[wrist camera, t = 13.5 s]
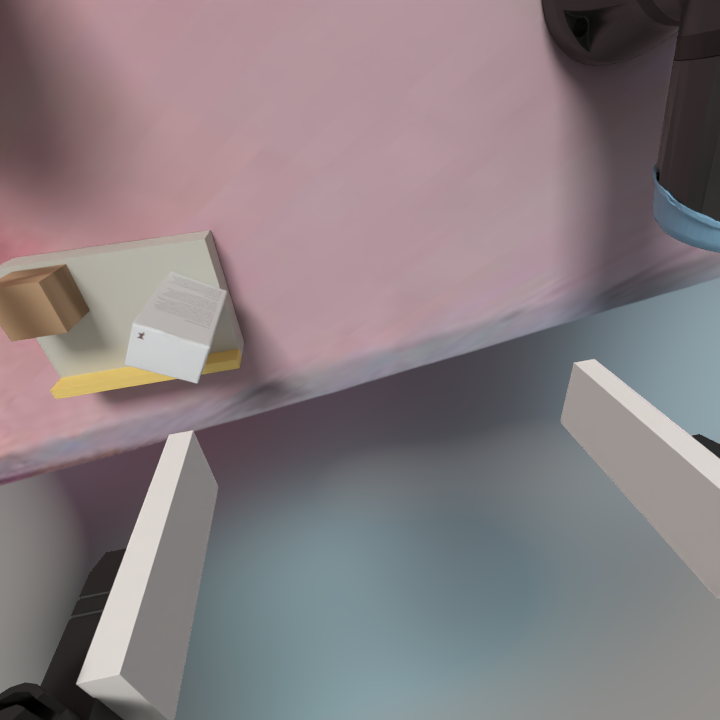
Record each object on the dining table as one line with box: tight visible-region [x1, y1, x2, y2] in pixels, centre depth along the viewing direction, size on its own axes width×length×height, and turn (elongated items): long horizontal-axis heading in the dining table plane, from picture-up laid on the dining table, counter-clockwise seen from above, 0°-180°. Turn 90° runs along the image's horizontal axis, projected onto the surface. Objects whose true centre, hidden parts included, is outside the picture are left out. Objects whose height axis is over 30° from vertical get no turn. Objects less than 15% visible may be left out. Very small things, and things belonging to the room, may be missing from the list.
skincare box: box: [124, 271, 227, 384], centre depth 37 cm, size 6×4×12 cm
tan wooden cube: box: [0, 264, 90, 341], centre depth 37 cm, size 5×5×5 cm
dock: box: [0, 230, 244, 399], centre depth 43 cm, size 20×14×6 cm
